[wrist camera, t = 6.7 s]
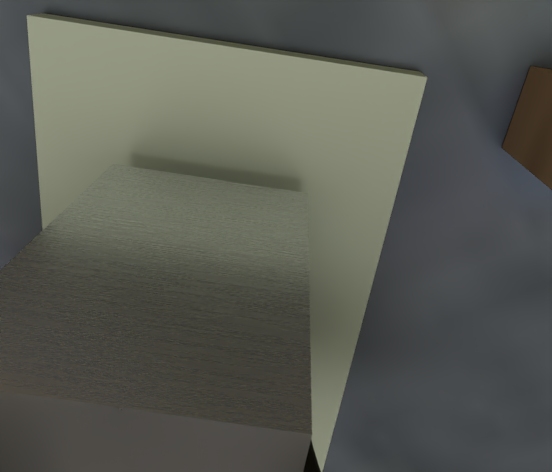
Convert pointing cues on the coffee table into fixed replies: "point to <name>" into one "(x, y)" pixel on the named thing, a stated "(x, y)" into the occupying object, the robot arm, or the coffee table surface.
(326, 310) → the sage board
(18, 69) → the coffee table surface
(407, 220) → the coffee table surface
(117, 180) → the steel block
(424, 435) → the coffee table surface
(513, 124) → the cardboard parcel
